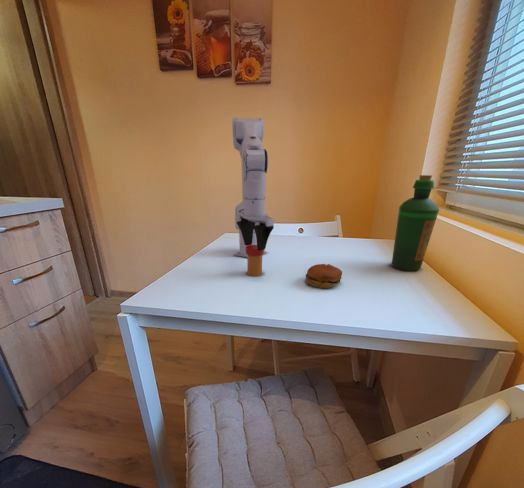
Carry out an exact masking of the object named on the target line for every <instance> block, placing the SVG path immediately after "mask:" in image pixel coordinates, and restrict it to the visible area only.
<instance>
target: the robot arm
mask: <svg viewBox="0 0 524 488" xmlns="http://www.w3.org/2000/svg"><path fill="white" fill-rule="evenodd" d="M231 123H232V129H231V130H232V144H233V149H234V150H236V151H238V152H239V155H240V159H241V185H242V186H241V191H242V192H241V193H242V201H241V202H239V203H238V204H237V205H236V206H235V208H234V225H235V229H236V230H237V231H238V237H239V241H238V243H239V251H238V252H236V253H234V256H237V257H241V258H242V257H243V258H247V254H246V246H248V245H257V248H258V250H259V251H261V250H264V253H263V254H266V252H267V251H266V248H267V243H268V240H269V238H270V235H271V233H272V231H273V230H274V228H275V225H274V224H275V219H274V218H273V217H271V216H269V215H268V214H267V213H266V178H267V177H266V174H267V173H268V169H269V154H268V153H269V152H268V149H267V148H264V146H263V139H264V134H265V122H264V120H263V118H262V117H259V118H250V117H235V116H234V117H233V118H232V120H231Z"/></svg>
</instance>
